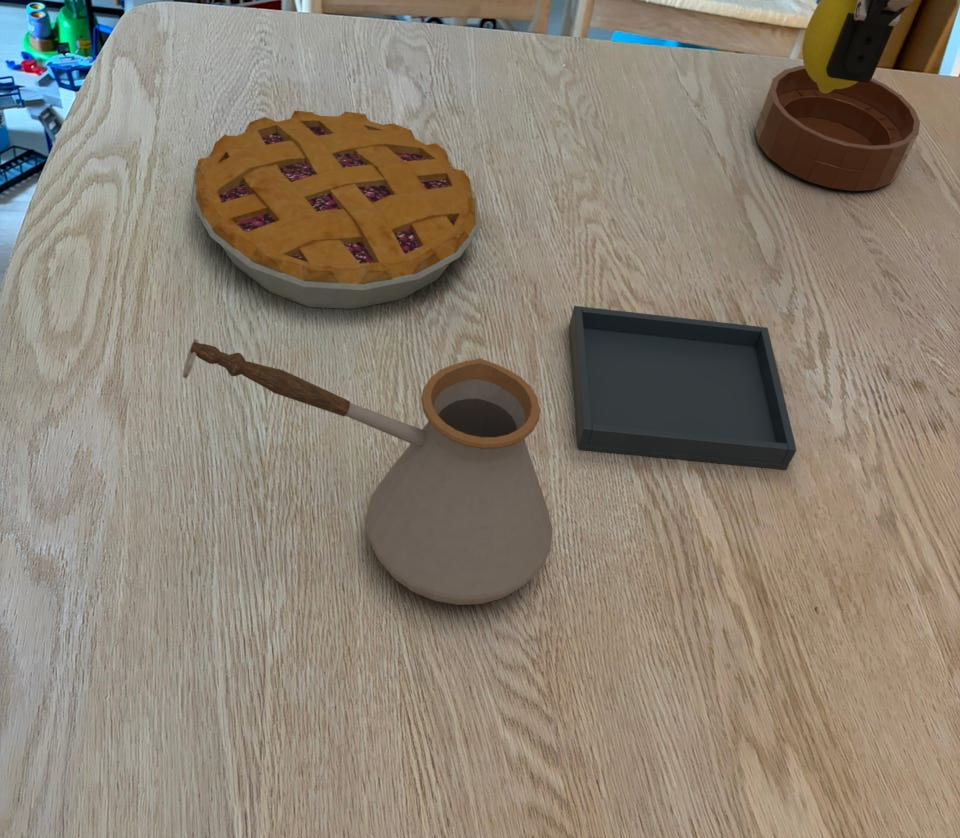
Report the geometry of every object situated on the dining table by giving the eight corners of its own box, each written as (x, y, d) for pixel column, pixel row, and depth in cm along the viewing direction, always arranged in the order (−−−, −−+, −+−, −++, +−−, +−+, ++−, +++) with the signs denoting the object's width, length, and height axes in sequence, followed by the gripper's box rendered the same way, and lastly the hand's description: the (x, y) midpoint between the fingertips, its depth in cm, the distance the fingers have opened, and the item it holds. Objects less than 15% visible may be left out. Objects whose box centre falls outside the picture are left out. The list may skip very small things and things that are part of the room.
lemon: (780, 97, 77) (823, -22, 70) (794, 64, 80) (837, -52, 73) (853, 121, 76) (904, 3, 70) (865, 87, 79) (915, -28, 73)
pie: (527, 271, 85) (538, 216, 81) (289, 358, 76) (288, 300, 72) (375, 131, 94) (378, 75, 90) (144, 194, 84) (136, 133, 80)
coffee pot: (540, 493, 71) (587, 310, 59) (548, 633, 65) (603, 459, 53) (216, 467, 69) (196, 270, 57) (190, 609, 62) (161, 421, 50)
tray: (759, 347, 83) (767, 327, 82) (786, 470, 76) (797, 450, 74) (568, 326, 82) (574, 305, 80) (577, 449, 74) (583, 428, 73)
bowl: (880, 120, 107) (900, 76, 103) (913, 203, 99) (936, 157, 95) (744, 102, 105) (759, 56, 102) (766, 184, 97) (783, 137, 94)
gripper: (1072, -200, 57) (914, 127, 71) (990, -299, 66) (866, 6, 81) (938, -224, 56) (807, 111, 70) (875, -321, 66) (771, -9, 80)
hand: (840, 52), depth 76 cm, fingers closed on lemon, 5 cm apart
